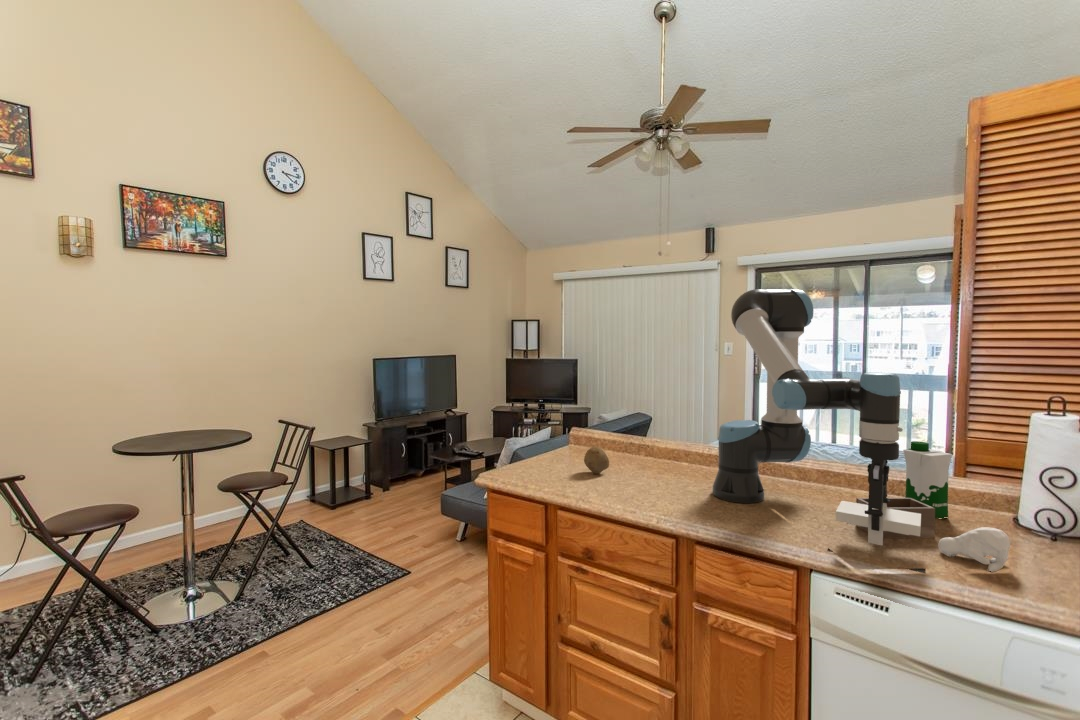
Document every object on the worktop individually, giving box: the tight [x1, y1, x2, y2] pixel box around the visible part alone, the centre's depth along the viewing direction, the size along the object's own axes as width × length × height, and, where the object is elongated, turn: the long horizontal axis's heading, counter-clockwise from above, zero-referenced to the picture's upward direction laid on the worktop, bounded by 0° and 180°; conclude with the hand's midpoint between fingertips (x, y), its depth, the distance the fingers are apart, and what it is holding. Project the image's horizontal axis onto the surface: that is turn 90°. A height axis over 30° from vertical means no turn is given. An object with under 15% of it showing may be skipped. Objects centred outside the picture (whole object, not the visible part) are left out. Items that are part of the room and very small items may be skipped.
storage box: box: [855, 497, 936, 539], centre depth 124 cm, size 8×14×8 cm, turn 89°
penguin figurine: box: [937, 526, 1011, 573], centre depth 108 cm, size 6×8×12 cm
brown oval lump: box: [583, 446, 610, 475], centre depth 182 cm, size 9×9×10 cm
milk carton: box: [903, 440, 953, 519], centre depth 136 cm, size 9×9×20 cm
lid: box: [835, 500, 921, 536], centre depth 114 cm, size 10×16×3 cm, turn 51°
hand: (877, 536), depth 114 cm, fingers closed on lid, 10 cm apart
